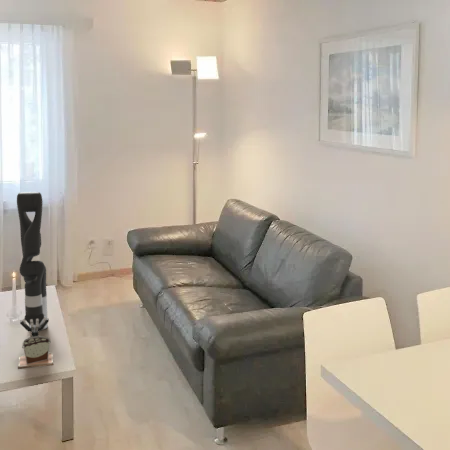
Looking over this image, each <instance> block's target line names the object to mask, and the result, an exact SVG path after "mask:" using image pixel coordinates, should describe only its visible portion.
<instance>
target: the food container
mask: <svg viewBox="0 0 450 450" xmlns="http://www.w3.org/2000/svg"><path fill="white" fill-rule="evenodd" d="M50 343H51V339H50V337H48V336H44V335H38V336H34V337H32V336H30V337H28V338H26V339H24V340H23V342H22V347H21V348H22V349H24V356H25V357H26V363H27V364H31V363H35V362H39V361H44V360H48V353H50Z"/></svg>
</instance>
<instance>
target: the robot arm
mask: <svg viewBox="0 0 450 450" xmlns="http://www.w3.org/2000/svg"><path fill="white" fill-rule="evenodd" d="M16 205H17V206H16V207H17V212H18V219H19V229H20V243H21V250H22V251H21V252H22V259H21V262H20V266H19V274H20V276H21V277H23V281H24V307H25V308H24V309H25V310H24V311H25V316H24V318H23V319H20V325H21V326H22V327H23V328H24V329H25V330H26V331H27V332H28V333H29V332H30V333H31V337H34V336H39V332H40V331H43V330H45V329H47V328H48V327H49V326H48V324H49V321H50V320H49V317H48V298H47V297H48V296H47V268H46V266H45V264H44V262H43V261H41V260H33V259H34V257H38V256H39V255H40V254H41V247H42V234H41V227H42V218H43V216H42V215H43V196H42V193H41V192H38V191H21V192H18V193H17V195H16ZM27 213H34V217H33V219H32V220H31V219H30V218H29V216H28V214H27ZM27 323H28V324H27Z"/></svg>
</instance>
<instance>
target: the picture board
mask: <svg viewBox="0 0 450 450" xmlns="http://www.w3.org/2000/svg"><path fill="white" fill-rule="evenodd" d="M17 362H18V365H17V369H18V370H19V369H27V368H29V369H30V368H37V367H38V368H39V367H47V366H54V353H53V352H49V353H48V360H44V361H39V362H35V363H31V364H27V363H26V357H25V355H19V356H18V360H17Z"/></svg>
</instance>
